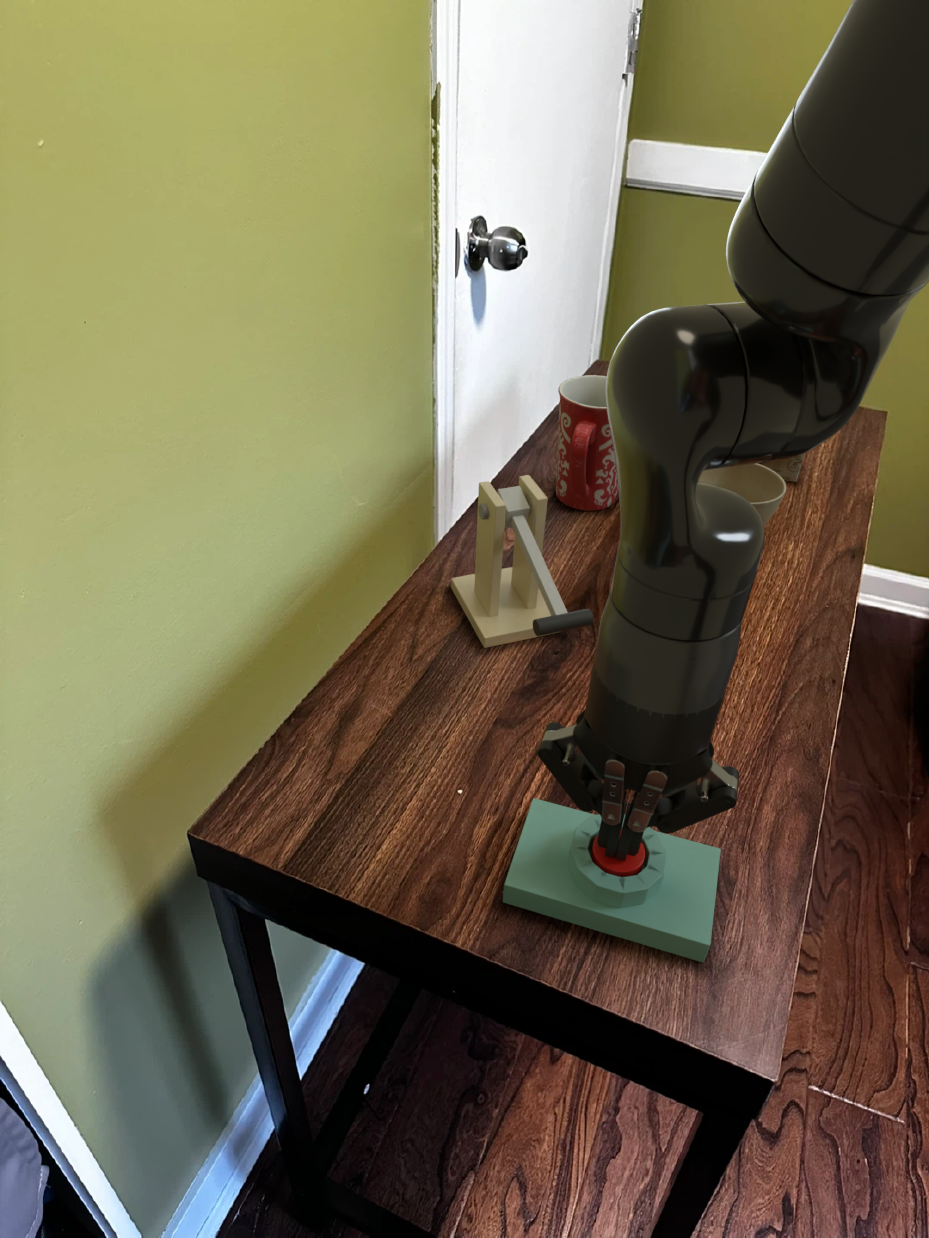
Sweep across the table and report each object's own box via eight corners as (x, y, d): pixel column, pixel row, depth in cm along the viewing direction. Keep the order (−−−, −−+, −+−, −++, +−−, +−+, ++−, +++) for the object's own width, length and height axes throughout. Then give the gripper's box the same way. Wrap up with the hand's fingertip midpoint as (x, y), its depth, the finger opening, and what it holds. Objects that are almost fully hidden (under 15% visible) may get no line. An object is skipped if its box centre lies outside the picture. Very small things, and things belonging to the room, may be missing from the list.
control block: (714, 866, 63) (726, 832, 61) (703, 963, 57) (716, 930, 55) (530, 815, 66) (535, 781, 64) (502, 902, 60) (505, 868, 58)
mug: (560, 470, 108) (572, 368, 100) (630, 486, 106) (648, 382, 97) (527, 519, 99) (537, 411, 91) (603, 538, 97) (620, 428, 88)
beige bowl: (779, 527, 99) (796, 472, 95) (755, 569, 93) (772, 513, 88) (697, 502, 103) (709, 449, 99) (668, 541, 96) (680, 486, 92)
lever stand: (560, 632, 84) (576, 511, 75) (484, 648, 81) (491, 526, 73) (522, 574, 91) (532, 458, 82) (450, 587, 89) (453, 469, 80)
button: (644, 851, 61) (648, 836, 60) (636, 892, 58) (640, 877, 57) (595, 837, 62) (598, 822, 61) (585, 877, 59) (588, 863, 58)
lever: (589, 631, 73) (596, 615, 71) (535, 642, 72) (541, 627, 70) (529, 500, 81) (534, 483, 79) (479, 508, 80) (483, 491, 78)
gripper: (531, 678, 47) (510, 865, 58) (780, 738, 44) (708, 923, 55) (561, 599, 52) (537, 783, 63) (784, 647, 50) (719, 832, 61)
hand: (617, 848), depth 59 cm, fingers closed
